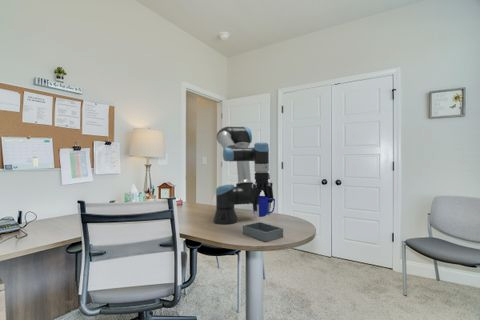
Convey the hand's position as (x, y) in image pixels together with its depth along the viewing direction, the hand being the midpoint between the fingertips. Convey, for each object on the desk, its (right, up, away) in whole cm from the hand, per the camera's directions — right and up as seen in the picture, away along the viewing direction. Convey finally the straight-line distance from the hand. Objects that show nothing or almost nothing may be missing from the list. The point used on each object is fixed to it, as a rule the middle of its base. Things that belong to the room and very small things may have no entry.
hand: (262, 215), depth 128 cm
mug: (+1, 0, 0) cm, 1 cm away
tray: (0, -10, 0) cm, 10 cm away
